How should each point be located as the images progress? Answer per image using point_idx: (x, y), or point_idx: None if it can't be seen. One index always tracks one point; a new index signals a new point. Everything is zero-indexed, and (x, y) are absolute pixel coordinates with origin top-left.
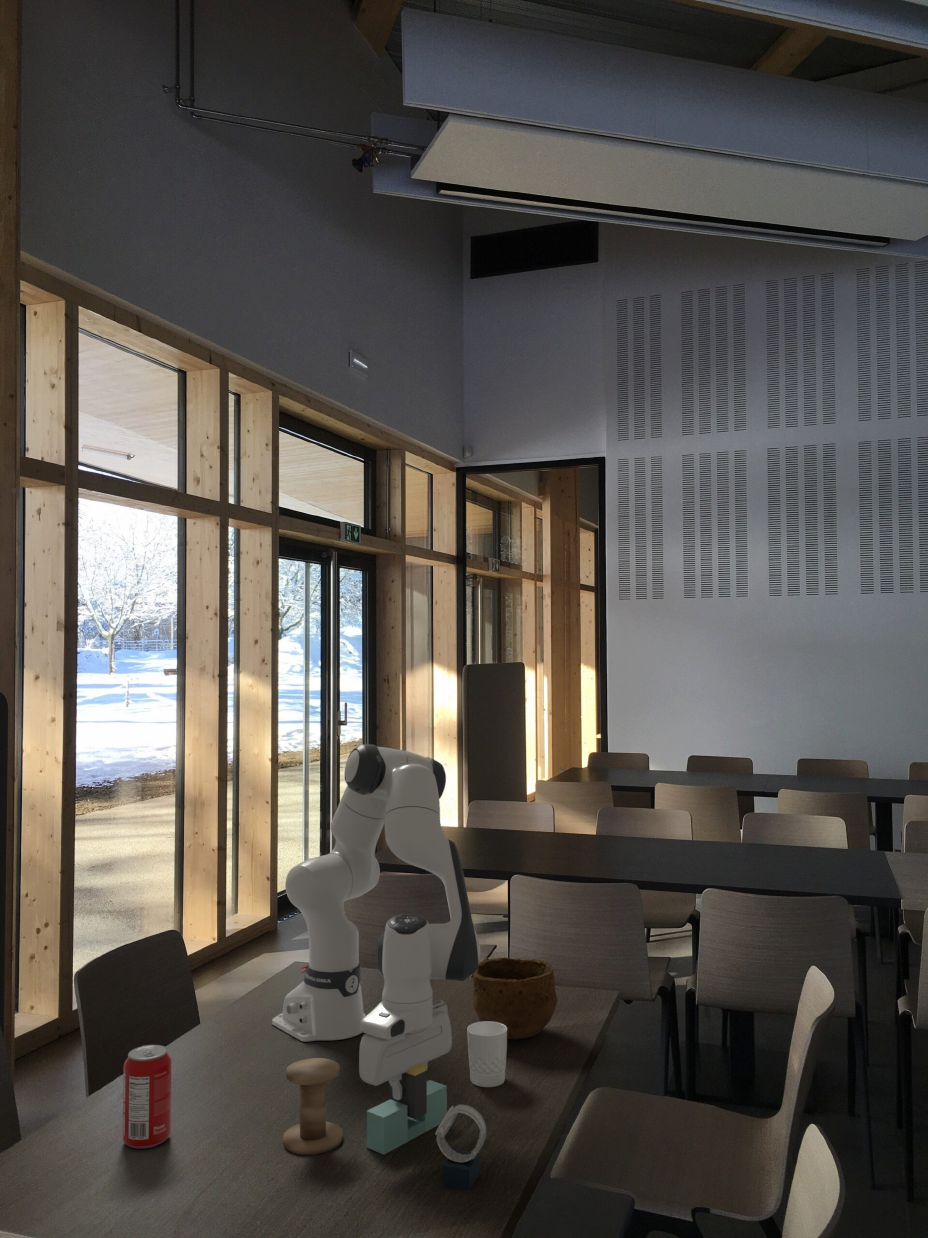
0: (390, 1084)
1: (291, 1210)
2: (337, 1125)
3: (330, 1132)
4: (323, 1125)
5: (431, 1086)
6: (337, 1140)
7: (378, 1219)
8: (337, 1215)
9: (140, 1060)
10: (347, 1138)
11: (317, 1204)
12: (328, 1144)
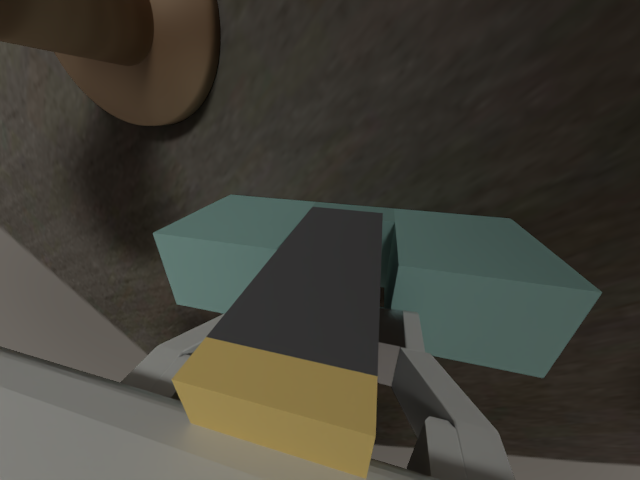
0: (202, 326)
1: (41, 230)
2: (204, 26)
3: (165, 54)
4: (96, 56)
5: (505, 330)
6: (162, 123)
7: (140, 334)
8: (97, 290)
9: None
10: (221, 105)
11: (78, 251)
12: (133, 121)
